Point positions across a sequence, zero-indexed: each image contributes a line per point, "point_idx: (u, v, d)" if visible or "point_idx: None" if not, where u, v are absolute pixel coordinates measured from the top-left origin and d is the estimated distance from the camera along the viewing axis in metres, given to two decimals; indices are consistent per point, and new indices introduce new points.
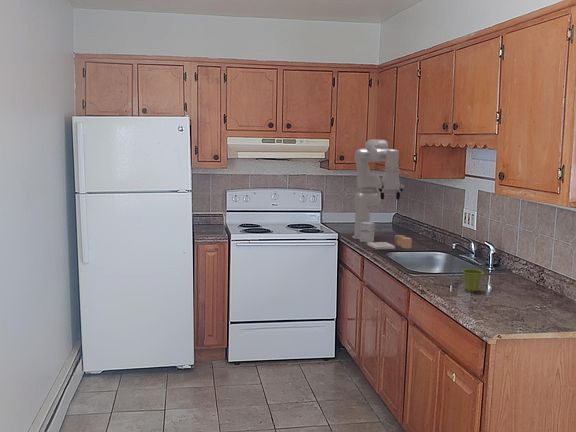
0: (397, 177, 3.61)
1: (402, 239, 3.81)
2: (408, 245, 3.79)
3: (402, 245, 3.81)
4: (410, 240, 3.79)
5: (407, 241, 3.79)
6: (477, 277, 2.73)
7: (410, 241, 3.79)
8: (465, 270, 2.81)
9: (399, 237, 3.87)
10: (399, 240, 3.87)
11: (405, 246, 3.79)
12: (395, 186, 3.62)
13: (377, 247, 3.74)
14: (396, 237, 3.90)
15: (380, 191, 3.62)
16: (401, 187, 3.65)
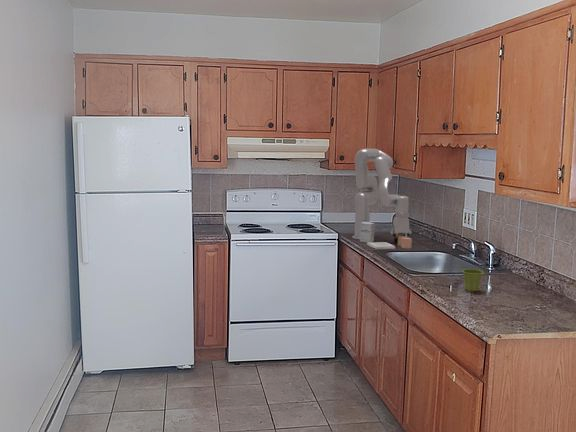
0: (407, 222, 3.87)
1: (402, 239, 3.81)
2: (408, 245, 3.79)
3: (402, 245, 3.81)
4: (410, 240, 3.79)
5: (407, 241, 3.79)
6: (477, 277, 2.73)
7: (410, 241, 3.79)
8: (465, 270, 2.81)
9: (399, 237, 3.87)
10: (399, 240, 3.87)
11: (405, 246, 3.79)
12: (405, 230, 3.88)
13: (377, 247, 3.74)
14: None
15: (394, 236, 3.88)
16: None
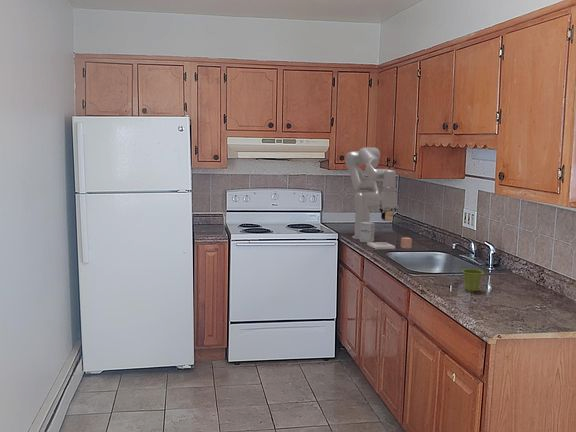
0: (394, 196, 3.79)
1: (402, 239, 3.81)
2: (408, 245, 3.79)
3: (402, 245, 3.81)
4: (410, 240, 3.79)
5: (407, 241, 3.79)
6: (477, 277, 2.73)
7: (410, 241, 3.79)
8: (465, 270, 2.81)
9: (386, 212, 3.78)
10: (386, 215, 3.79)
11: (405, 246, 3.79)
12: (392, 205, 3.79)
13: (377, 247, 3.74)
14: None
15: (381, 211, 3.80)
16: None
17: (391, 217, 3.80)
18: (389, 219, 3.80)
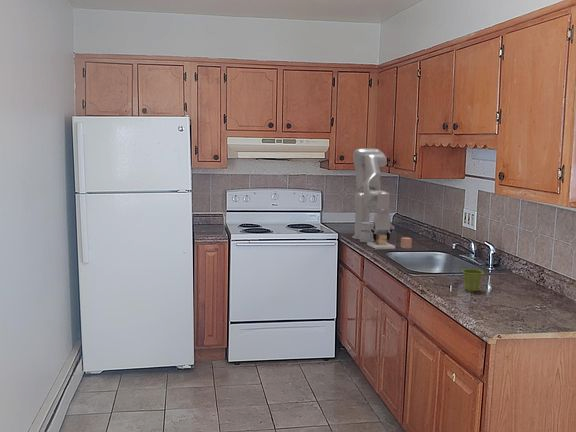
0: (388, 218, 3.78)
1: (402, 239, 3.81)
2: (408, 245, 3.79)
3: (402, 245, 3.81)
4: (410, 240, 3.79)
5: (407, 241, 3.79)
6: (477, 277, 2.73)
7: (410, 241, 3.79)
8: (465, 270, 2.81)
9: (380, 236, 3.78)
10: (380, 239, 3.79)
11: (405, 246, 3.79)
12: (386, 227, 3.79)
13: (377, 247, 3.74)
14: (377, 236, 3.81)
15: (373, 232, 3.79)
16: (391, 228, 3.82)
17: (385, 241, 3.80)
18: (383, 243, 3.79)
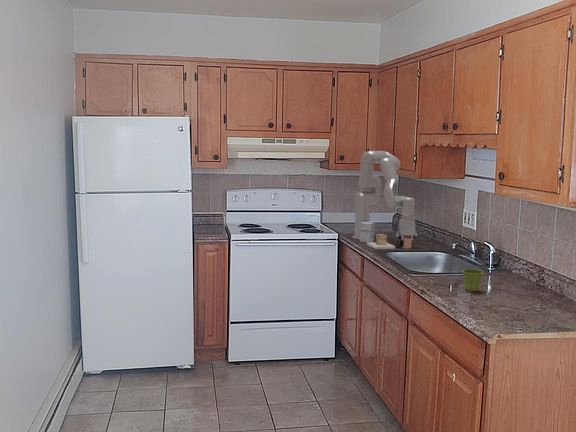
0: (413, 224, 3.78)
1: None
2: (408, 245, 3.79)
3: None
4: (410, 240, 3.79)
5: (407, 241, 3.79)
6: (477, 277, 2.73)
7: (410, 241, 3.79)
8: (465, 270, 2.81)
9: (380, 236, 3.78)
10: (380, 239, 3.79)
11: (405, 246, 3.79)
12: (411, 232, 3.79)
13: (377, 247, 3.74)
14: (377, 236, 3.81)
15: (400, 239, 3.79)
16: None
17: (385, 241, 3.80)
18: (383, 243, 3.79)
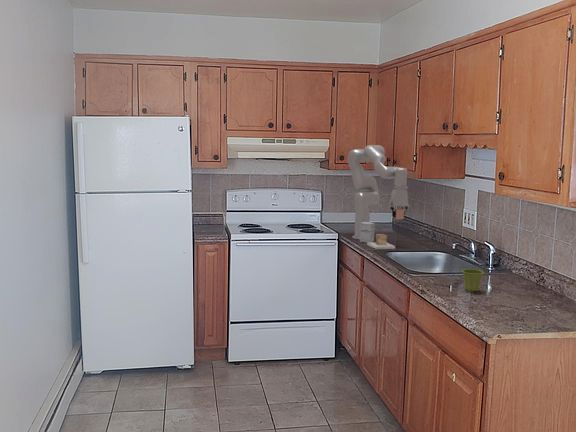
0: (405, 194, 3.76)
1: None
2: (400, 216, 3.77)
3: None
4: (402, 211, 3.77)
5: (399, 212, 3.77)
6: (477, 277, 2.73)
7: (402, 212, 3.77)
8: (465, 270, 2.81)
9: (380, 236, 3.78)
10: (380, 239, 3.79)
11: (397, 217, 3.77)
12: (403, 203, 3.77)
13: (377, 247, 3.74)
14: (377, 236, 3.81)
15: (392, 209, 3.77)
16: None
17: (385, 241, 3.80)
18: (383, 243, 3.79)
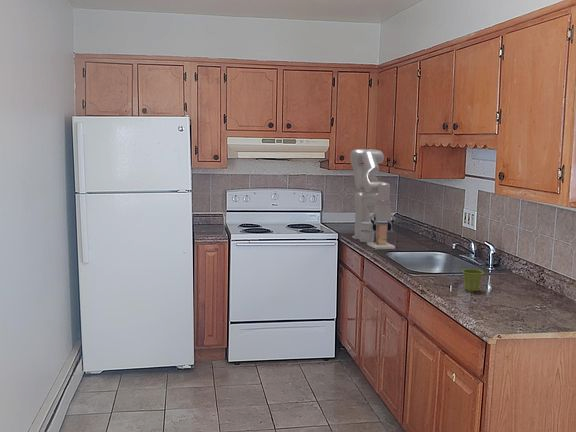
0: (388, 209, 3.78)
1: (377, 226, 3.80)
2: (383, 232, 3.79)
3: (377, 232, 3.80)
4: (385, 227, 3.78)
5: (382, 228, 3.78)
6: (477, 277, 2.73)
7: (385, 228, 3.79)
8: (465, 270, 2.81)
9: (380, 236, 3.78)
10: (380, 239, 3.79)
11: (380, 233, 3.78)
12: (386, 218, 3.78)
13: (377, 247, 3.74)
14: (377, 236, 3.81)
15: (372, 223, 3.78)
16: (392, 219, 3.81)
17: (385, 241, 3.80)
18: (383, 243, 3.79)
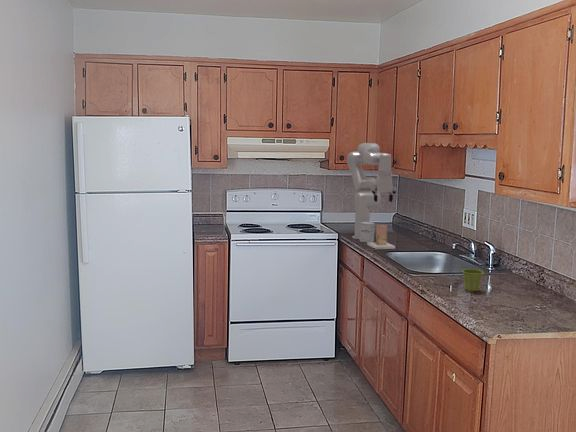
0: (390, 180, 3.75)
1: (377, 226, 3.80)
2: (383, 232, 3.79)
3: (377, 232, 3.80)
4: (385, 227, 3.78)
5: (382, 228, 3.78)
6: (477, 277, 2.73)
7: (385, 228, 3.79)
8: (465, 270, 2.81)
9: (380, 236, 3.78)
10: (380, 239, 3.79)
11: (380, 233, 3.78)
12: (388, 189, 3.76)
13: (377, 247, 3.74)
14: (377, 236, 3.81)
15: (373, 194, 3.76)
16: (394, 190, 3.79)
17: (385, 241, 3.80)
18: (383, 243, 3.79)
